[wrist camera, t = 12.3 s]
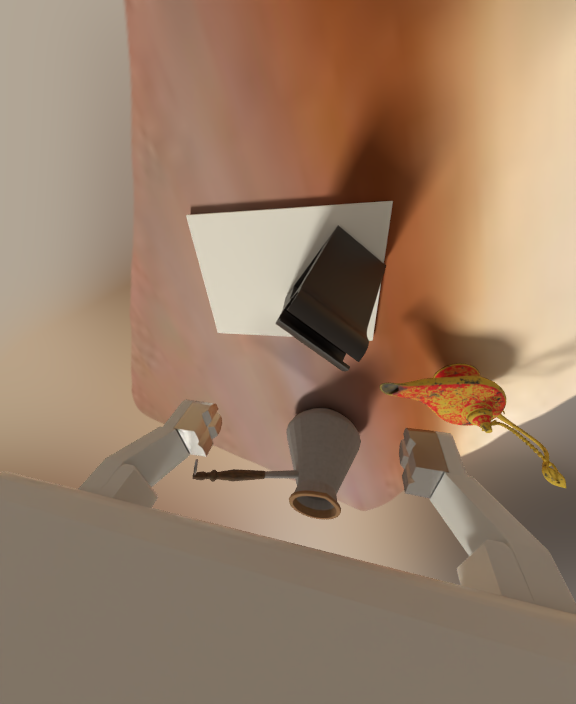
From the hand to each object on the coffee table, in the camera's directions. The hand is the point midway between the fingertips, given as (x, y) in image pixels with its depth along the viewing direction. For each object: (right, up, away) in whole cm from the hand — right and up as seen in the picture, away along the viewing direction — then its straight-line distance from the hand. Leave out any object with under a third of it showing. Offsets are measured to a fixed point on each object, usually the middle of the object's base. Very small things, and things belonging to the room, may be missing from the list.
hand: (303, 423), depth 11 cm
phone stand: (+4, +11, +15) cm, 19 cm away
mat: (-1, +11, +17) cm, 20 cm away
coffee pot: (+1, -7, +29) cm, 30 cm away
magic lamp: (+19, 0, +20) cm, 27 cm away
